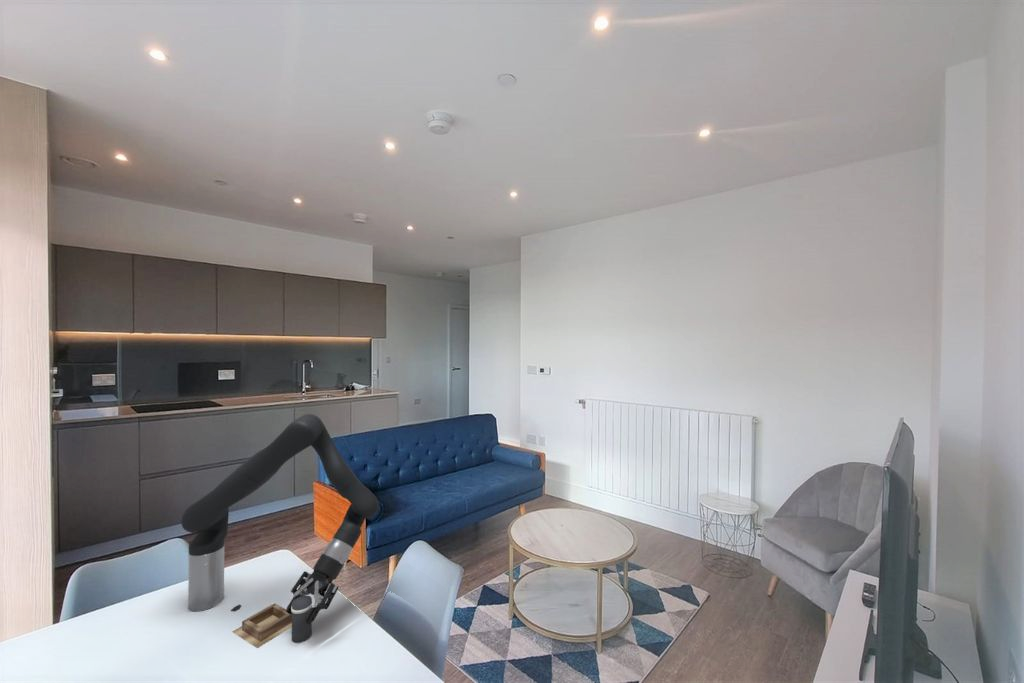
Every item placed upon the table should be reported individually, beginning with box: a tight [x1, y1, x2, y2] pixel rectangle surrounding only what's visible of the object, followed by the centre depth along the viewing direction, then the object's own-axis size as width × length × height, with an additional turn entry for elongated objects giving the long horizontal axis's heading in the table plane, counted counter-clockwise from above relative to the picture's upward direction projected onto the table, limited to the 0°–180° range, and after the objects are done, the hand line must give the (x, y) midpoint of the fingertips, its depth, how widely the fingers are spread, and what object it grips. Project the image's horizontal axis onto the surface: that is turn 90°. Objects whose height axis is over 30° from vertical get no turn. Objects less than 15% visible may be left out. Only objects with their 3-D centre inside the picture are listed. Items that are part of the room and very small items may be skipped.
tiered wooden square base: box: [231, 603, 292, 649], centre depth 119 cm, size 13×13×3 cm
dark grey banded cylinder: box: [291, 595, 313, 644], centre depth 115 cm, size 5×5×10 cm
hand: (297, 618), depth 114 cm, fingers open, 8 cm apart
